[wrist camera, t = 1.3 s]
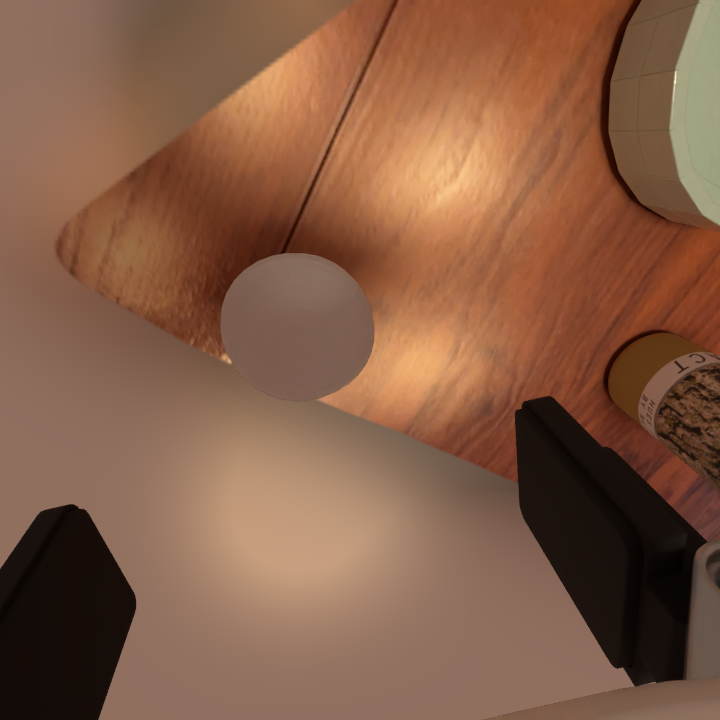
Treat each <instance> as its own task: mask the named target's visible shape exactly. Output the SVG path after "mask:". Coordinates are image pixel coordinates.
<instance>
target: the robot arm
mask: <svg viewBox="0 0 720 720" xmlns="http://www.w3.org/2000/svg"><path fill="white" fill-rule="evenodd" d="M515 427H516V446H517V465H518V485H519V503H520V509H521V512H522V515H523V518H524V520H525V522H526V523H527V525H528V526H529V528H530V530H531V531H532V533H533V535H534V537H535V538H536V540H537V541H538V543H539V545H540V547H541V548H542V550H543V552H544V553H545V555H546V557H547V558H548V560H549V561H550V563H551V565H552V567H553V568H554V570H555V572H556V573H557V575H558V577H559V578H560V580H561V582H562V583H563V585H564V587H565V588H566V590H567V592H568V593H569V595H570V597H571V598H572V600H573V602H574V603H575V605H576V607H577V608H578V610H579V612H580V613H581V615H582V617H583V618H584V620H585V622H586V623H587V625H588V627H589V628H590V630H591V632H592V633H593V635H594V637H595V638H596V640H597V642H598V643H599V645H600V647H601V648H602V650H603V652H604V653H605V655H606V657H607V658H608V660H609V661H610V663H611V664H612V665H613V666H614V667H615V668H617V669H618V668H622V667H623V668H624V670H625V671H626V673H627V675H628V676H629V677H630V679H631V681H632V683H633V684H634V686H635V687H629V688H623V689H618V690H613V691H608V692H604V693H599V694H595V695H590V696H585V697H581V698H576V699H572V700H567V701H563V702H558V703H554V704H550V705H544V706H540V707H536V708H531V709H527V710H522V711H518V712H513V713H509V714H505V715H501V716H497V717H492V718H489V719H484V720H720V539H717V540H714V541H711V542H707V541H706V540H705V539H704V538H703V537H702V536H701V535H700V534H699V533H698V532H697V531H696V530H695V529H694V528H693V527H692V526H691V525H690V524H689V523H688V522H687V521H686V520H685V519H684V518H682V517H681V516H680V515H679V514H678V513H677V512H676V511H675V510H674V509H673V508H672V507H671V506H670V505H669V504H668V503H667V502H666V501H665V500H664V499H663V498H662V497H661V496H660V495H659V494H658V493H657V492H656V491H655V490H654V489H653V488H652V487H651V486H650V485H649V484H648V483H647V482H646V481H645V480H644V479H643V478H642V477H641V476H640V475H639V474H638V473H637V472H636V471H634V470H633V469H632V468H631V467H630V466H629V465H628V464H627V463H626V462H625V461H624V460H623V459H622V458H621V457H620V456H619V455H618V454H617V453H616V452H615V451H613V450H612V449H611V448H608V447H602V446H601V445H600V444H599V443H598V442H597V441H596V440H595V439H594V438H593V437H592V436H591V435H590V434H589V433H588V432H587V431H586V430H585V429H584V428H583V427H582V426H581V425H580V424H579V423H578V422H577V421H576V420H575V419H574V418H573V417H572V416H571V415H570V414H569V413H568V412H567V411H566V410H565V409H564V408H563V407H562V406H561V405H560V404H559V403H558V402H557V401H556V400H555V399H554V398H553V397H551V396H546V397H542V398H537V399H533V400H528V401H524V402H523V404H522V409H519V410H516V412H515ZM135 610H136V598H135V594H134V592H133V590H132V589H131V587H130V585H129V583H128V582H127V580H126V578H125V576H124V575H123V573H122V571H121V569H120V568H119V566H118V564H117V562H116V561H115V559H114V557H113V555H112V554H111V552H110V550H109V549H108V547H107V545H106V543H105V542H104V540H103V538H102V536H101V535H100V533H99V531H98V529H97V528H96V526H95V524H94V522H93V521H92V519H91V517H90V515H89V514H88V513H87V511H86V510H84V509H79V508H78V507H77V506H75V505H73V504H69V505H65V506H60V507H56V508H51V509H47V510H44V511H42V512H40V513H39V515H37V517H36V518H35V520H34V521H33V522H32V524H31V525H30V527H29V529H28V530H27V531H26V533H25V534H24V535H23V537H22V538H21V540H20V541H19V543H18V544H17V546H16V547H15V549H14V550H13V552H12V553H11V554H10V556H9V557H8V559H7V560H6V562H5V563H4V565H3V566H2V567H1V569H0V720H98V719H99V716H100V713H101V710H102V707H103V704H104V701H105V698H106V696H107V693H108V689H109V687H110V684H111V681H112V678H113V674H114V672H115V669H116V666H117V663H118V661H119V658H120V655H121V652H122V649H123V646H124V643H125V640H126V637H127V634H128V631H129V628H130V626H131V623H132V619H133V617H134V614H135ZM651 682H656V683H654V684H648V683H651ZM644 684H648V685H644ZM640 685H641V686H640Z"/></svg>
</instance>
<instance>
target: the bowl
mask: <svg viewBox="0 0 720 720" xmlns="http://www.w3.org/2000/svg"><path fill="white" fill-rule="evenodd" d="M608 131H609V132H608V133H609V137H610V141H611V144H612V148H613V152H614V156H615V160H616V164H617V167H618V171H619V173H620V175H621V176H622V178H623V179H624V180H625V182H626V183H627V185H628V186H629V187H630V189H631V190H632V192H633V193H634V195H635V196H636V197H637V199H638V200H639V202H640V203H641V204H642V205H644V206H646V207H647V208H649V209H651V210H653V211H654V212H656V213H658V214H659V215H661V216H663V217H664V218H666V219H668V220H669V221H672V222H677V223H681V224H686V225H690V226H695V227H699V228H704V229H708V230H713V231H717V232H720V0H641V2H640V4H639V6H638V7H637V9H636V11H635V13H634V14H633V16H632V18H631V20H630V21H629V23H628V25H627V28H626V31H625V34H624V37H623V41H622V44H621V48H620V51H619V54H618V58H617V61H616V64H615V68H614V71H613V74H612V78H611V82H610V103H609V128H608Z"/></svg>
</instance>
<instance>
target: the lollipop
mask: <svg viewBox="0 0 720 720" xmlns="http://www.w3.org/2000/svg"><path fill="white" fill-rule="evenodd" d="M220 328H221V336H222V341H223V344H224V347H225V350H226V353H227V355H228V356H229V358H230V360H231V361H232V363H233V365H234V366H235V368H236V369H237V371H238V372H239V373H240V374H241V375H242V376H243V378H244V379H245V380H246V381H247V382H248V383H250V384H251V385H252V386H254V387H255V388H256V389H258V390H260V391H262V392H264V393H265V394H267V395H269V396H273V397H276V398H279V399H282V400H289V401H309V400H314V399H319V398H322V397H324V396H326V395H329V394H331V393H334V392H336V391H338V390H339V389H341V388H343V387H344V386H346V385H348V384H349V383H350V382H351V381H352V380H353V379H354V378H356V377H357V376H358V375H359V373H360V372H361V371H362V369H363V368H364V366H365V365H366V363H367V361H368V359H369V357H370V355H371V352H372V347H373V343H374V321H373V316H372V310H371V307H370V304H369V302H368V300H367V297H366V295H365V293H364V292H363V290H362V289H361V287H360V286H359V285H358V283H357V282H356V281H355V280H354V279H353V278H352V277H351V276H350V275H349V274H348V273H347V272H346V271H345V270H344V269H343V268H341V267H340V266H338V265H337V264H335V263H334V262H332V261H330V260H327V259H325V258H323V257H320V256H316V255H311V254H306V253H285V254H279V255H273V256H270V257H267V258H265V259H262V260H259V261H257V262H255V263H254V264H252V265H251V266H249V267H248V268H246V269H245V270H244V271H243V272H242V273H241V274H240V275H239V276H238V277H237V278H236V279H235V280H234V281H233V283H232V285H231V286H230V288H229V290H228V291H227V293H226V296H225V299H224V302H223V305H222V312H221V323H220Z"/></svg>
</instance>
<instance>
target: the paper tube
mask: <svg viewBox="0 0 720 720" xmlns="http://www.w3.org/2000/svg"><path fill="white" fill-rule="evenodd" d="M608 389H609V394H610V396H611V398H612V400H613V401H614V403H615V404H616V405H617V406H618V407H619V408H620V409H622V410H623V411H624V412H625V413H626V414H628V415H629V416H630V417H631V418H632V419H634V420H635V421H636V422H637V423H639V424H640V425H641V426H642V427H643V428H644V429H645V430H646V431H648V432H649V433H650V434H651V435H652V436H654V437H655V438H656V439H657V440H658V441H660V442H661V443H662V444H663V445H665V446H666V447H667V448H668V449H669V450H670V451H672V452H673V453H674V454H675V455H676V456H678V457H679V458H680V459H681V460H683V461H684V462H685V463H686V464H687V465H689V466H690V467H691V468H692V469H693V470H695V471H696V472H697V473H698V474H699V475H701V476H702V477H703V478H704V479H705V480H707V481H708V482H709V483H710V484H711V485H713V486H714V487H715V488H716V489H717V490H719V491H720V356H719V355H716V354H714V353H712V352H710V351H708V350H706V349H704V348H702V347H700V346H698V345H696V344H694V343H693V342H691V341H689V340H687V339H685V338H683V337H681V336H678V335H675V334H671V333H656V334H652V335H648V336H645V337H642V338H640V339H638V340H636V341H634V342H633V343H631V344H630V345H629V346H627V347H626V348H625V349H624V350H623V351H622V352H621V353H620V354H619V356H618V357H617V358H616V360H615V361H614V363H613V365H612V367H611V370H610V373H609V378H608Z"/></svg>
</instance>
